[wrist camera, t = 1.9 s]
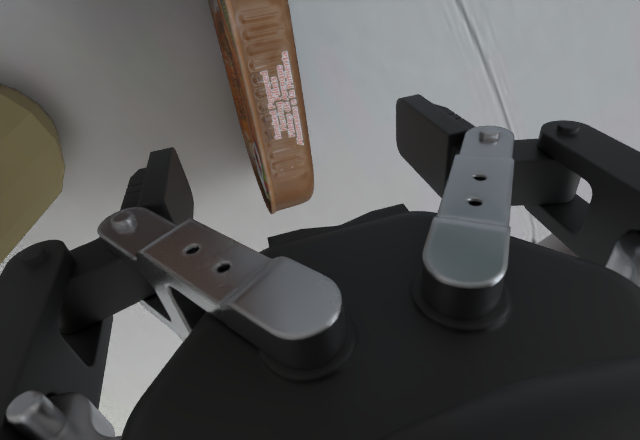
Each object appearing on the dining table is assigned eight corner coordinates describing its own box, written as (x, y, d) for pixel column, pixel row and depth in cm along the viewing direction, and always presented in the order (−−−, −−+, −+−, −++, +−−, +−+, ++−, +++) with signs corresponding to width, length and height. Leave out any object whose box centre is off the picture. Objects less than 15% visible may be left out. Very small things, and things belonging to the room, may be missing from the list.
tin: (185, -89, 19) (180, -108, 12) (248, -97, 20) (275, -120, 13) (252, 174, 28) (269, 244, 21) (294, 164, 29) (324, 230, 22)
